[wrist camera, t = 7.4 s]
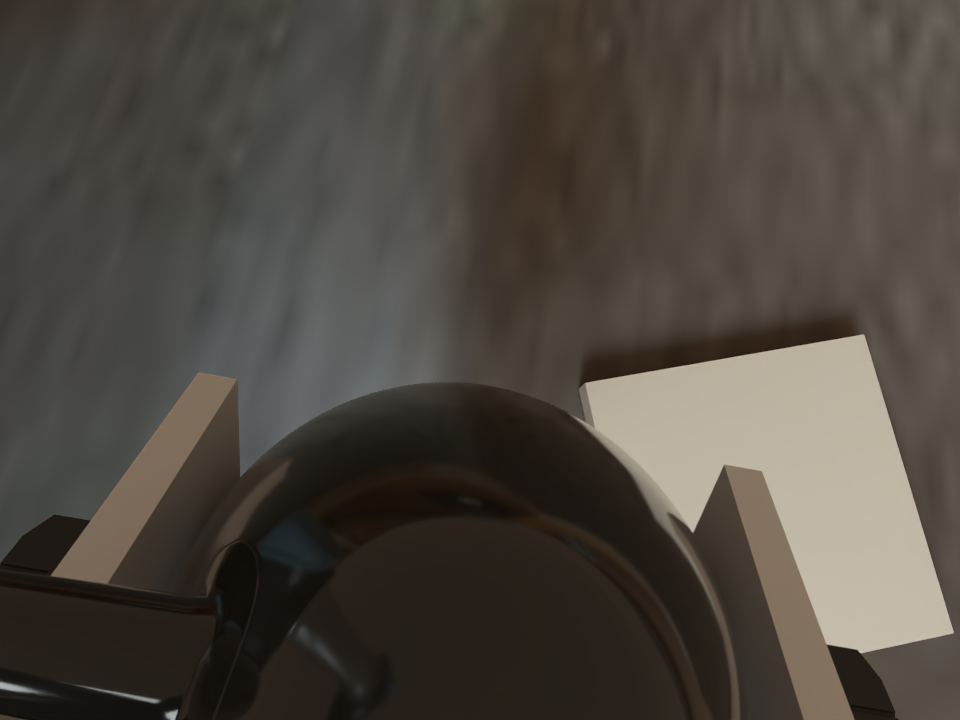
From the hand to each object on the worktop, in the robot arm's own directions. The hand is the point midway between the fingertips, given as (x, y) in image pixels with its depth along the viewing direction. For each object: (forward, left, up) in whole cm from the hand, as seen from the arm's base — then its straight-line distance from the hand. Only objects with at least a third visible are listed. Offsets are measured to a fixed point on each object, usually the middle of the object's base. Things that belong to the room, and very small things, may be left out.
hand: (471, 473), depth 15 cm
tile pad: (+3, +13, -18) cm, 22 cm away
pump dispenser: (+3, -1, -6) cm, 7 cm away
